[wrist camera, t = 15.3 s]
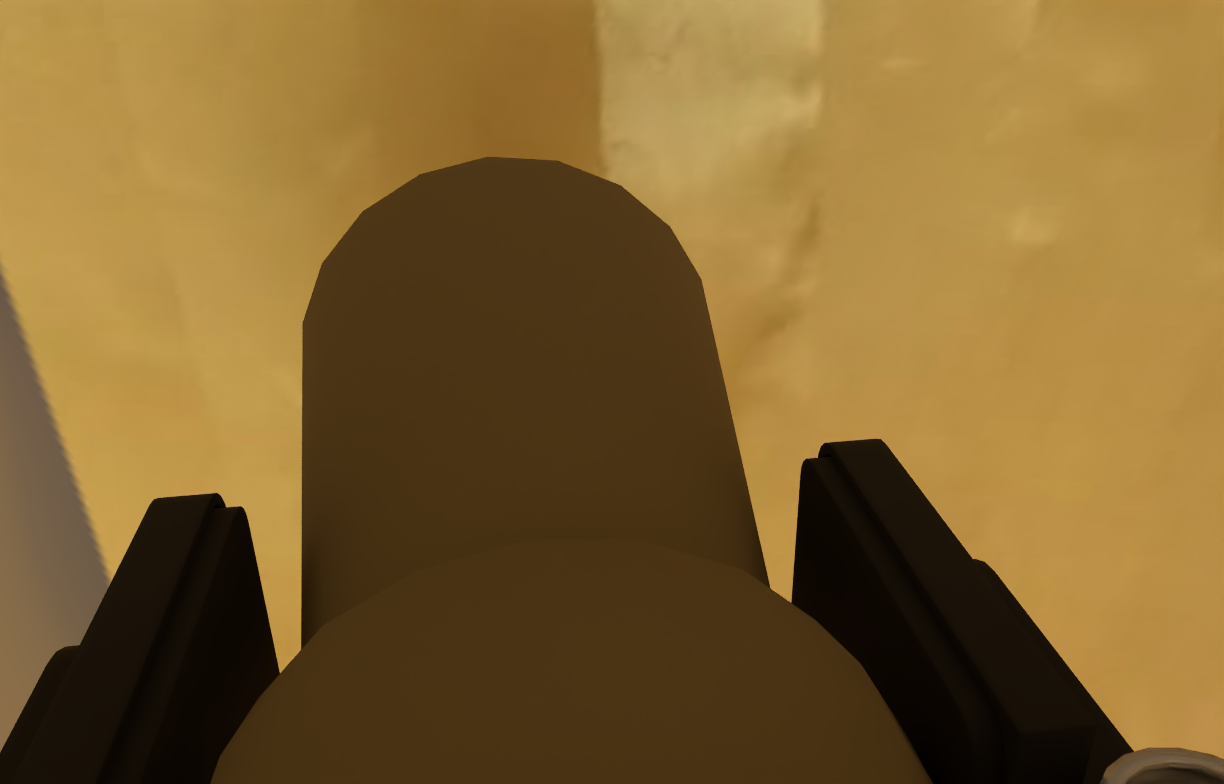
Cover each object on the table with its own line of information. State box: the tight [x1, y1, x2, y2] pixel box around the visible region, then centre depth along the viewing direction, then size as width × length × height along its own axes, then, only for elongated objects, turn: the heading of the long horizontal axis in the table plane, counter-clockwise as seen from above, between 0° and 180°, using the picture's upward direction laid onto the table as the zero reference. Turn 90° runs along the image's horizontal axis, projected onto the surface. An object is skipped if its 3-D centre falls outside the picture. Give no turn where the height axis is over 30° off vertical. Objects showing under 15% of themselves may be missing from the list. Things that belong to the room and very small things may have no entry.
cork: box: [210, 157, 933, 784], centre depth 10 cm, size 6×6×11 cm
